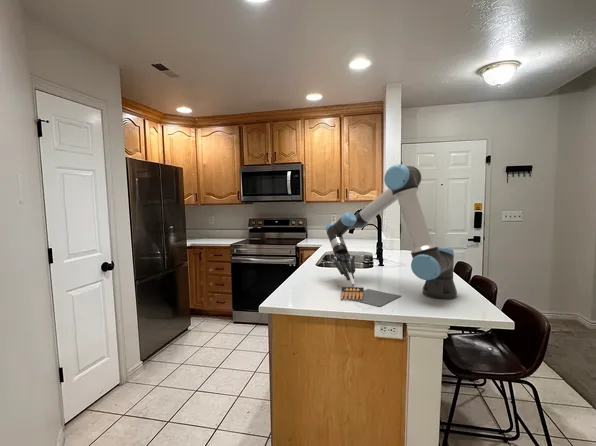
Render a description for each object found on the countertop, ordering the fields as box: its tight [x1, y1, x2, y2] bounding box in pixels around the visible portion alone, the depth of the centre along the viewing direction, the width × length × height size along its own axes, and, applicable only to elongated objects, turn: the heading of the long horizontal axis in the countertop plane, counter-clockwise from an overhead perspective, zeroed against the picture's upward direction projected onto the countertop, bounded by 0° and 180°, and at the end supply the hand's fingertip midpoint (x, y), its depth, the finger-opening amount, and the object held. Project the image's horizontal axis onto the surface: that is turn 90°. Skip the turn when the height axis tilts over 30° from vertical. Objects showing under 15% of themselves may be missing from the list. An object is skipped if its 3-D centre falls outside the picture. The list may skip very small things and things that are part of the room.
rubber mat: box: [346, 288, 402, 308], centre depth 148 cm, size 18×20×1 cm
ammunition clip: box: [340, 286, 365, 301], centre depth 148 cm, size 11×2×12 cm
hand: (352, 285), depth 155 cm, fingers closed
